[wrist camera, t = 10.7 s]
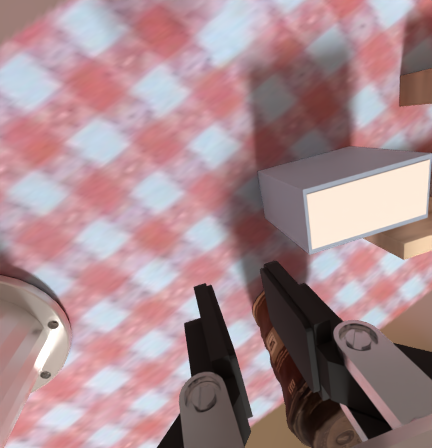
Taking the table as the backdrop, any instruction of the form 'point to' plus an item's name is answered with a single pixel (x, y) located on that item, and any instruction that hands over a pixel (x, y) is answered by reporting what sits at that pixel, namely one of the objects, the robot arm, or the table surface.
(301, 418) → the coffee cup
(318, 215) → the grey rectangular block
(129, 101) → the table surface
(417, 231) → the rack
